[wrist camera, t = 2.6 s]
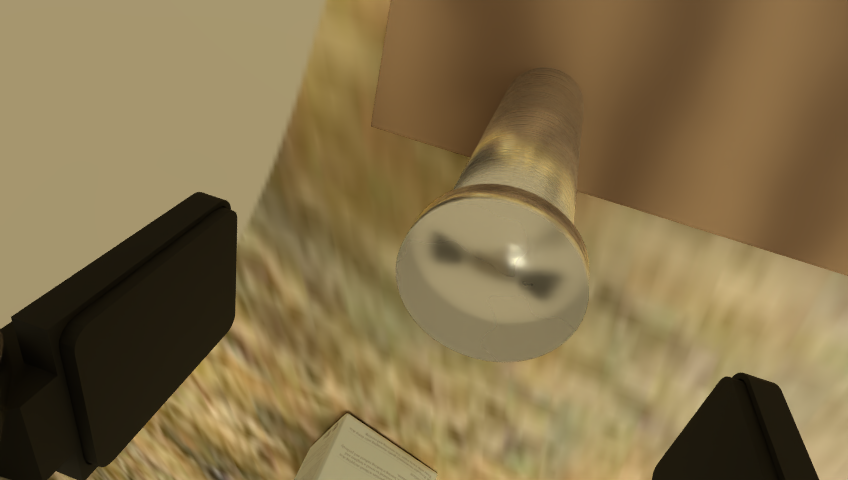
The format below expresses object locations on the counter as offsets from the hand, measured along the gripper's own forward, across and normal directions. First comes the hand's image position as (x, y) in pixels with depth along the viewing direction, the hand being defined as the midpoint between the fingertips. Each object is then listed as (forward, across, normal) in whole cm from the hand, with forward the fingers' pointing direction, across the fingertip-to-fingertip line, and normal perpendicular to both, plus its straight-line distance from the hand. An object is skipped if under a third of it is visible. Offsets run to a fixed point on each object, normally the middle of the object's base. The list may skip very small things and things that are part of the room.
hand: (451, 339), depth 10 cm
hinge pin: (+14, -1, -1) cm, 14 cm away
